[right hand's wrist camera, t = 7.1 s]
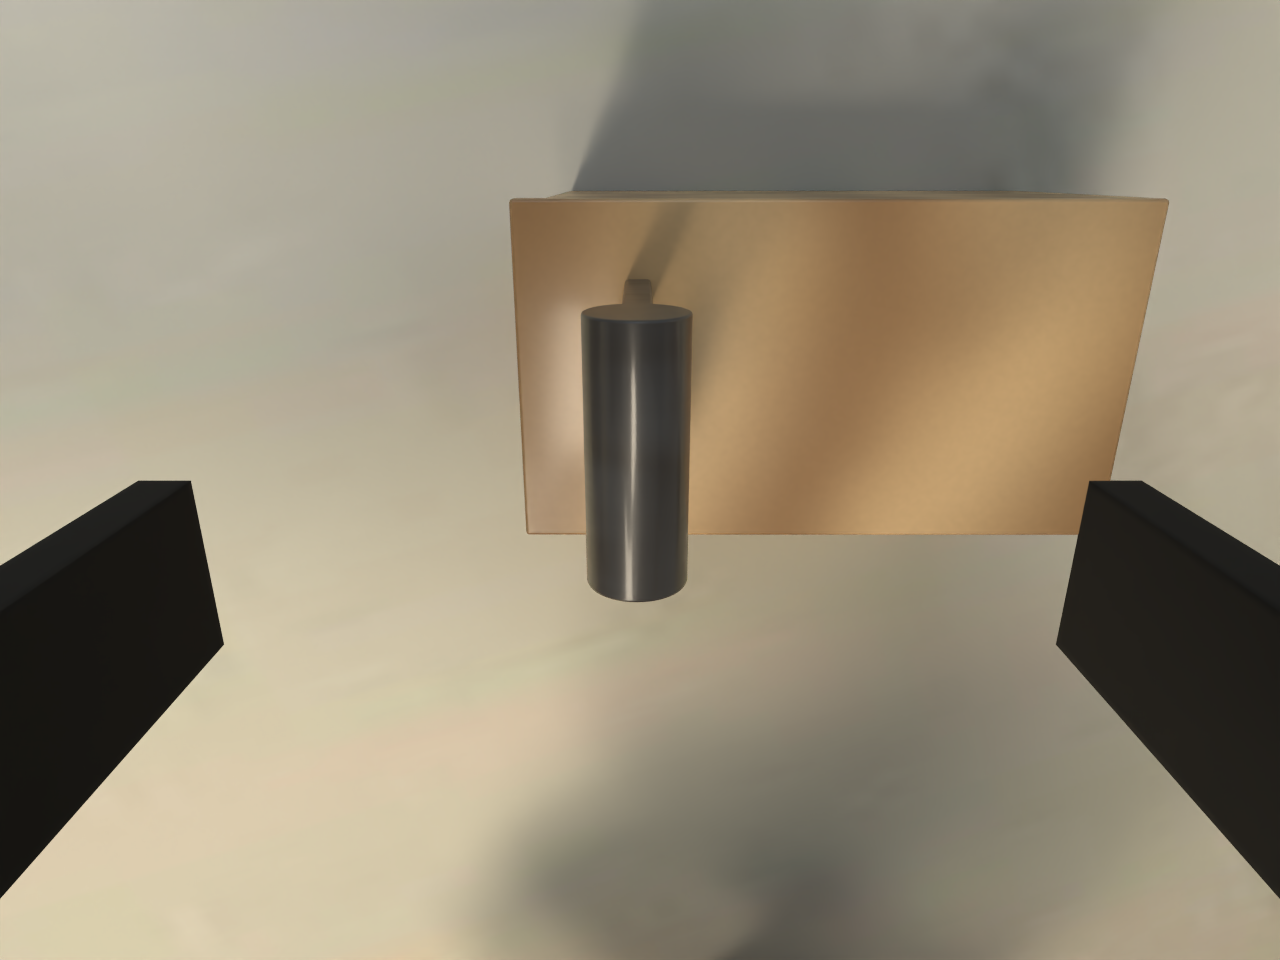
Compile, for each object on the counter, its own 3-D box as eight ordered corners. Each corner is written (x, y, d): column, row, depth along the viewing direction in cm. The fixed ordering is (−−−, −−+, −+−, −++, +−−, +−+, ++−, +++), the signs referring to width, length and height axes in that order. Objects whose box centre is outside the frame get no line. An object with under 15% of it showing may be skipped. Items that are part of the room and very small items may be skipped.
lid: (529, 525, 26) (480, 681, 18) (512, 198, 22) (443, 212, 14) (1086, 525, 26) (1283, 681, 18) (1153, 198, 22) (1432, 212, 14)
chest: (576, 439, 34) (556, 524, 26) (569, 190, 30) (544, 197, 22) (978, 439, 34) (1085, 524, 26) (1015, 190, 30) (1152, 198, 22)
